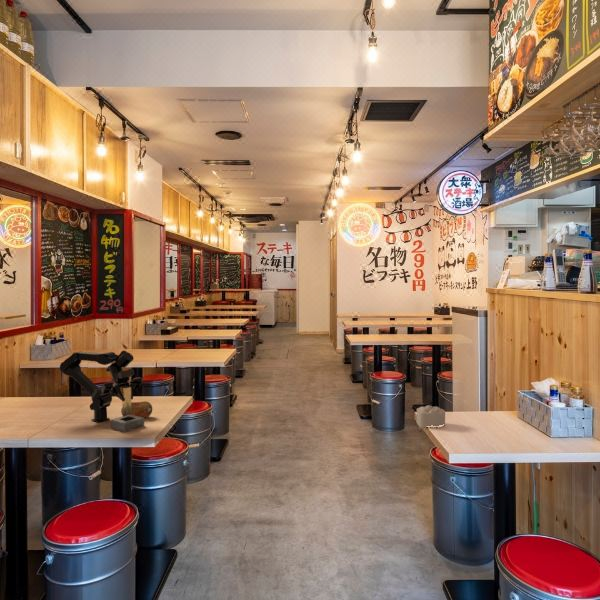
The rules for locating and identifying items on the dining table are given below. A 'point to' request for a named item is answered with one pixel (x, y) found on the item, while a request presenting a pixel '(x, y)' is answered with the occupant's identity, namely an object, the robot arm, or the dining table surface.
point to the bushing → (126, 400)
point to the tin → (140, 409)
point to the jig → (127, 423)
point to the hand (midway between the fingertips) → (128, 399)
